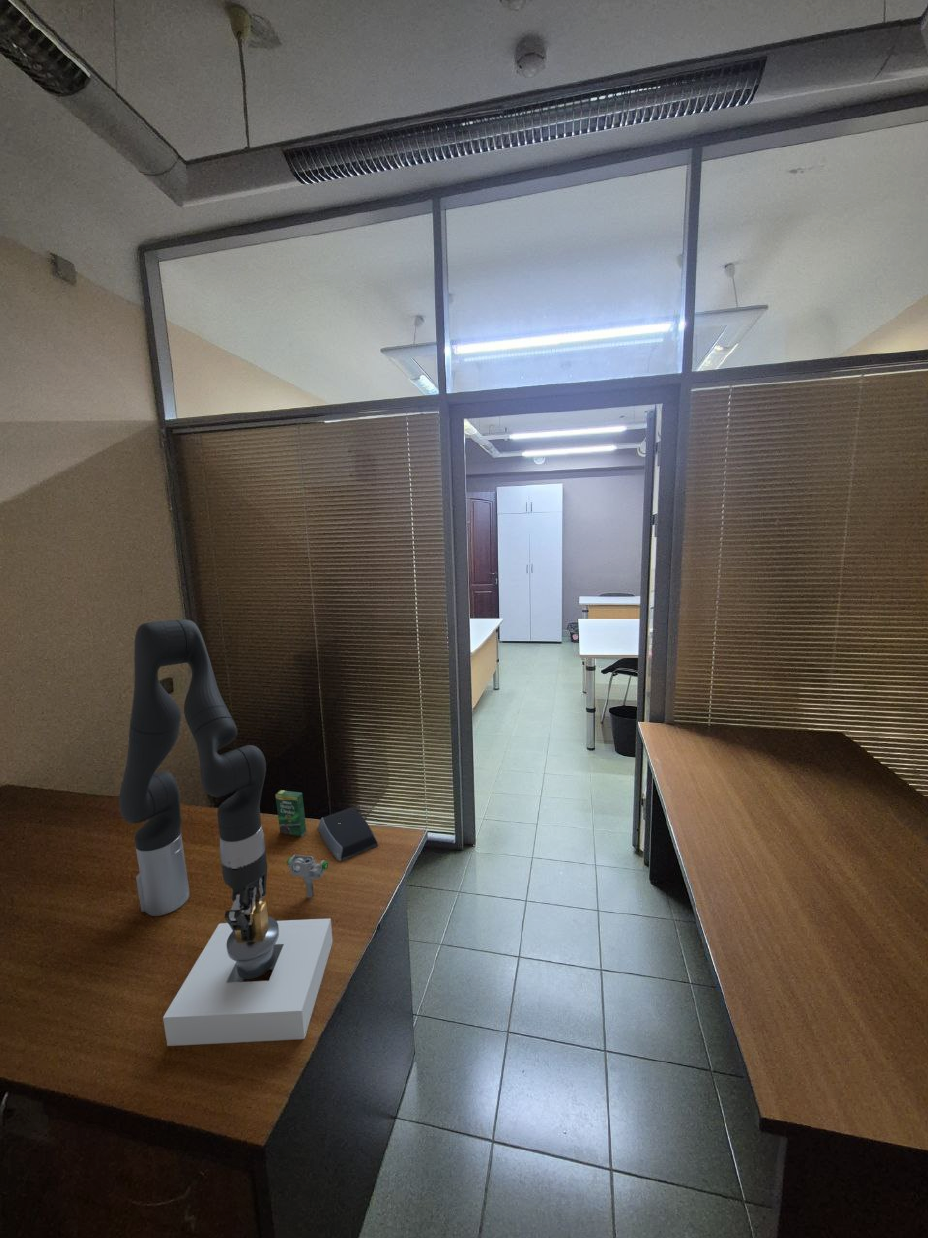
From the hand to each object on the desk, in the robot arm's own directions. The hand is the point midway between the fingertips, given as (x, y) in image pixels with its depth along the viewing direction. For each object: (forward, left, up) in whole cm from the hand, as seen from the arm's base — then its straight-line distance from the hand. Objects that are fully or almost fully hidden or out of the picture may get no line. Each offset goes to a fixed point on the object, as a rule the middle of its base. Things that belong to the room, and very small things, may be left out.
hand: (252, 931), depth 89 cm
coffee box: (-10, +50, -13) cm, 53 cm away
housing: (0, 0, -13) cm, 13 cm away
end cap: (0, 0, -7) cm, 7 cm away
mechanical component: (+3, +24, -13) cm, 28 cm away
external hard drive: (+7, +47, -14) cm, 50 cm away
